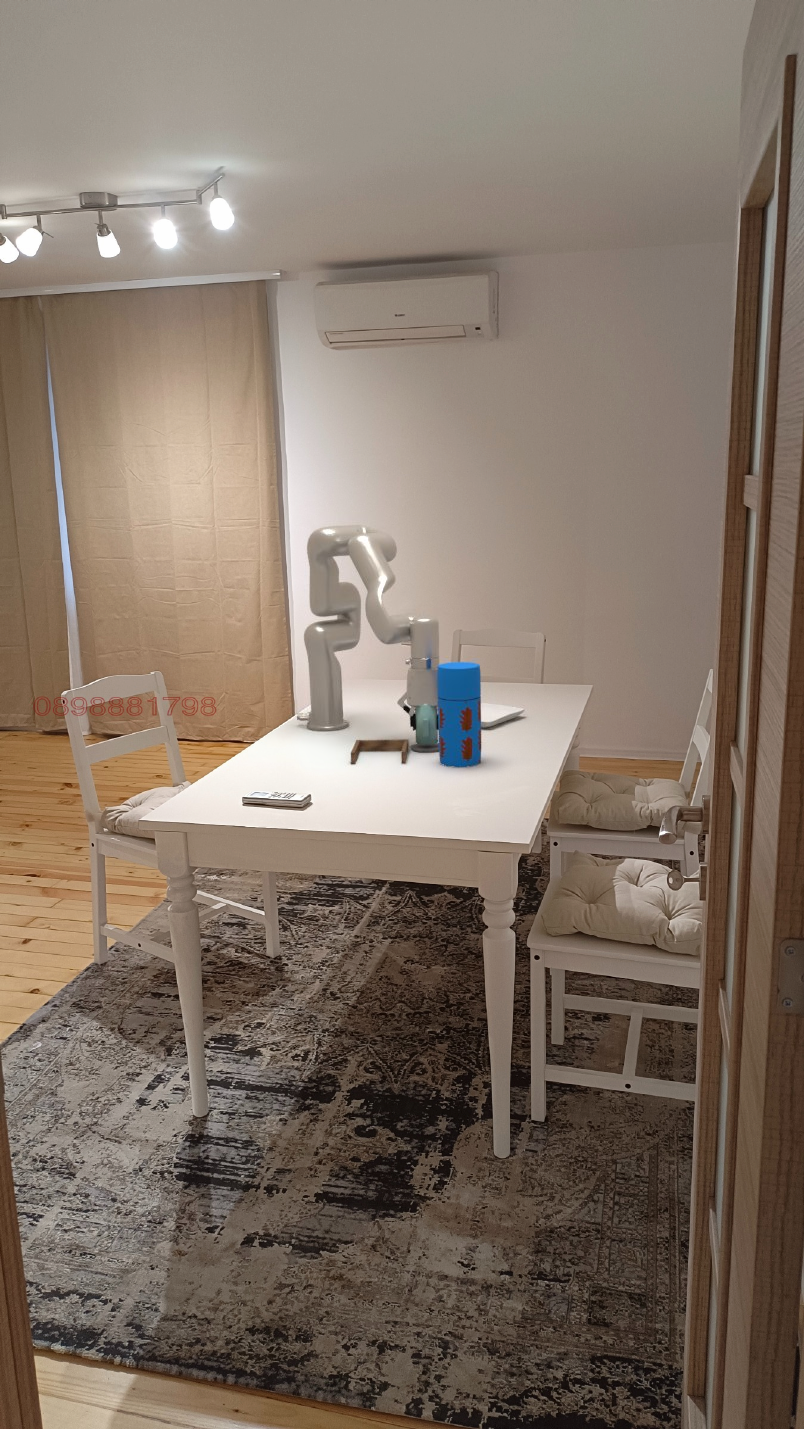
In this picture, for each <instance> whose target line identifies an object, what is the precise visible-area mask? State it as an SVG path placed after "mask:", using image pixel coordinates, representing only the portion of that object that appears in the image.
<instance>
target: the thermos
mask: <svg viewBox="0 0 804 1429" xmlns="http://www.w3.org/2000/svg"><path fill="white" fill-rule="evenodd" d="M480 666H481V665H480V664H479V663H476V662H470V661H467V662H466V661H456V662H453V661H452V662H445V663H439V665H438V670H437V687H438V711H437V712H438V743H439V751H438V754H439V763H440V765H442V764H444V765H443V766H445V765H446V766H445V767H449V766H454V767H453V768H468V767H467V766H470V767H475V766H477V765H476V764H478V765H480V764H481V761H482V728H481V703H482V698H481V697H482V696H481V695H482V692H481V691H482V690H481V689H482V688H481V687H482V685H481V684H482V683H481V668H480ZM479 763H480V764H479ZM474 765H475V766H474Z"/></svg>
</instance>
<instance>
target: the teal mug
mask: <svg viewBox="0 0 804 1429" xmlns="http://www.w3.org/2000/svg"><path fill="white" fill-rule="evenodd" d="M414 712H415V725H416V730H415V744H423V745H429V744H435V743H439V733H438V730H437V715H438V714H437V712H438V711H437V708H436V706H430V704H421V706H419V707H416V709H415V711H414Z"/></svg>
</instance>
